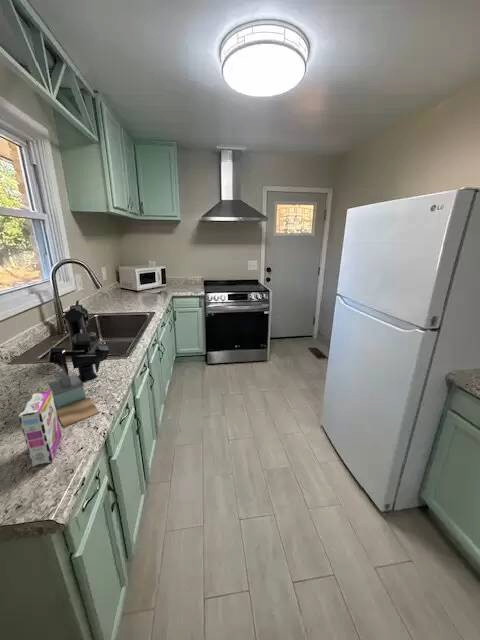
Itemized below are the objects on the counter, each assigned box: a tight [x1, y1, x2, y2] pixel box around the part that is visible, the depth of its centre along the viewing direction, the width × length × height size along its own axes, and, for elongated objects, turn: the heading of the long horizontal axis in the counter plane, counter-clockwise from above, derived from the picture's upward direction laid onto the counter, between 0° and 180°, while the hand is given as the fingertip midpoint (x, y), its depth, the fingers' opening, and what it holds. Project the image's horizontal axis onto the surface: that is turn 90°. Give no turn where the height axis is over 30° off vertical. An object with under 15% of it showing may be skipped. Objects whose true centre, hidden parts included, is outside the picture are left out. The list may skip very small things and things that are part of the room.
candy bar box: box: [18, 390, 62, 468], centre depth 75 cm, size 11×5×16 cm, turn 21°
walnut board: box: [56, 397, 101, 428], centre depth 95 cm, size 12×11×1 cm
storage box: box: [49, 386, 87, 409], centre depth 102 cm, size 10×9×6 cm
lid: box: [47, 370, 84, 396], centre depth 101 cm, size 10×9×6 cm
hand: (82, 372), depth 94 cm, fingers open, 9 cm apart
